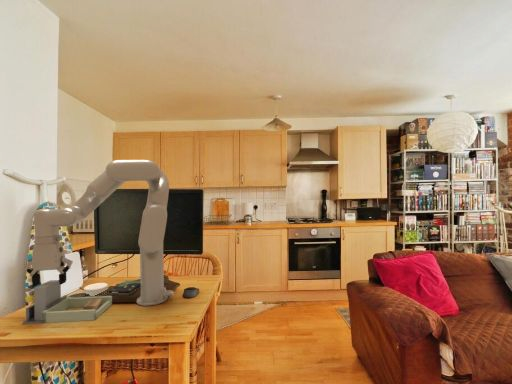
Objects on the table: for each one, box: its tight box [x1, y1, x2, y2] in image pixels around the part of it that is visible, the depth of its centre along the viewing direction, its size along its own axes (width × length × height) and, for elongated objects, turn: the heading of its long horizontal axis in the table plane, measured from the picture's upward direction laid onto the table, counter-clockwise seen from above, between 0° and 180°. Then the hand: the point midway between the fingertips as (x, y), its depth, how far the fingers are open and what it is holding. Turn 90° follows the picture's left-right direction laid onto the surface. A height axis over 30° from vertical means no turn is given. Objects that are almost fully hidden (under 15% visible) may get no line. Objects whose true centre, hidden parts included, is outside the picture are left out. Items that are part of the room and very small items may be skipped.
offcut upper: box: [83, 299, 102, 310], centre depth 109 cm, size 4×7×2 cm, turn 13°
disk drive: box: [108, 280, 140, 294], centre depth 135 cm, size 10×3×15 cm
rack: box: [43, 295, 113, 324], centre depth 109 cm, size 18×15×4 cm
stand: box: [21, 295, 68, 325], centre depth 108 cm, size 7×16×5 cm, turn 5°
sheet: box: [33, 279, 62, 320], centre depth 108 cm, size 4×9×12 cm, turn 4°
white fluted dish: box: [83, 282, 109, 297], centre depth 132 cm, size 10×10×4 cm
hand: (49, 284), depth 108 cm, fingers open, 9 cm apart
